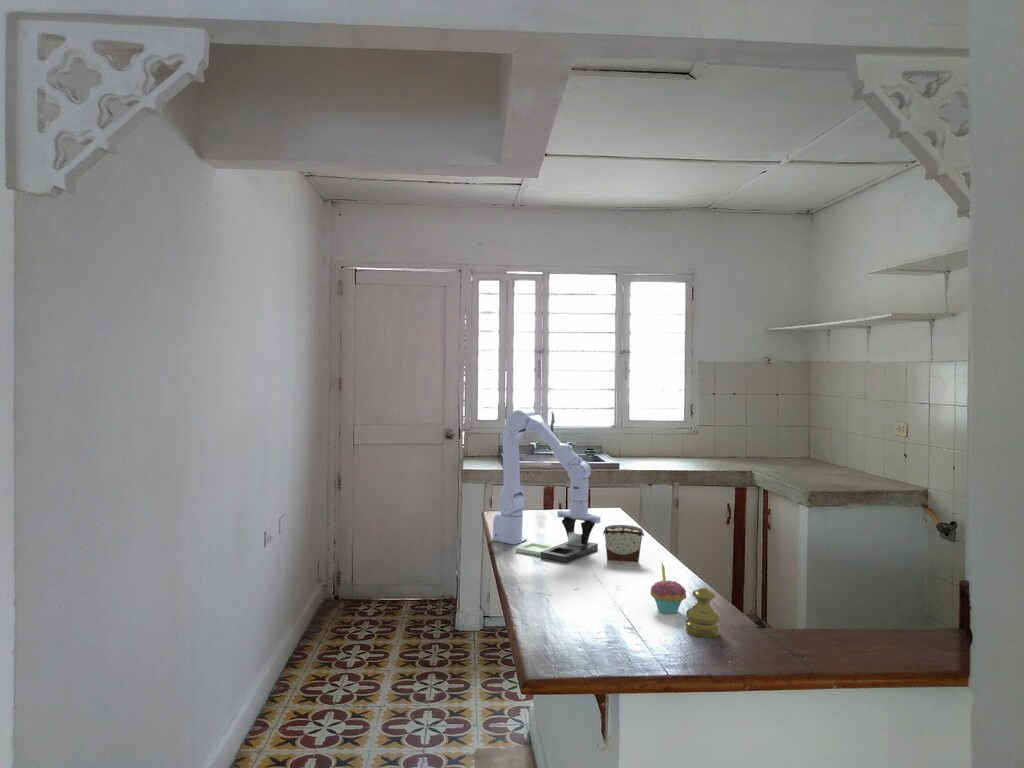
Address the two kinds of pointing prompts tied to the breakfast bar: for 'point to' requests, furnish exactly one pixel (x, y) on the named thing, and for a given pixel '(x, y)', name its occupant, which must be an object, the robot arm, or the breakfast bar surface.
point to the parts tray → (533, 548)
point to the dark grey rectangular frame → (568, 552)
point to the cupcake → (668, 595)
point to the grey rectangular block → (575, 539)
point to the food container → (623, 543)
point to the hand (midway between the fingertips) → (577, 542)
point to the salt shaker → (703, 615)
